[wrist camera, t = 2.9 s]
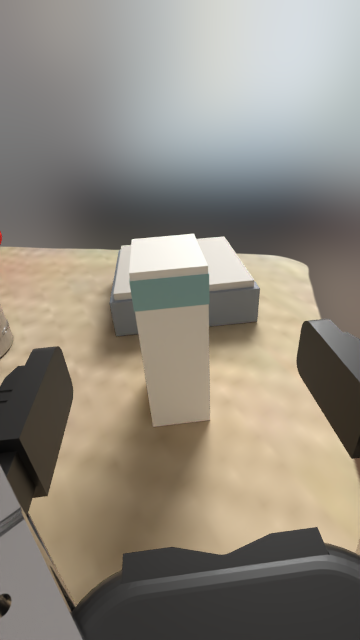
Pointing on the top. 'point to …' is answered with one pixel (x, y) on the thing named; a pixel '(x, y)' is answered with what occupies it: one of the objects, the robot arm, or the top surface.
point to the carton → (172, 326)
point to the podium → (224, 288)
